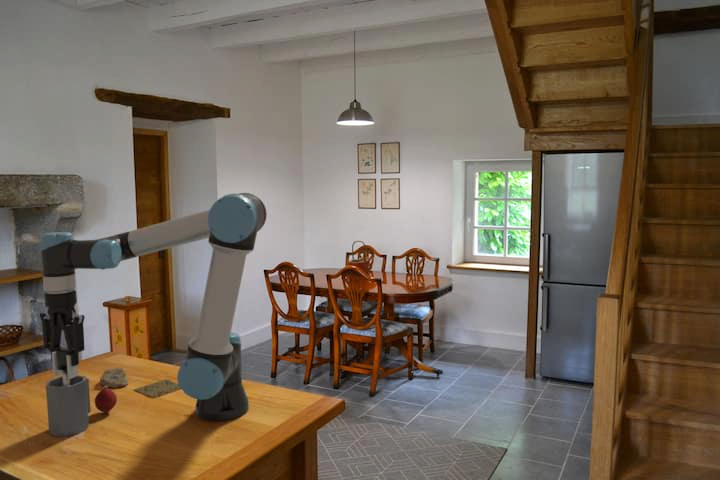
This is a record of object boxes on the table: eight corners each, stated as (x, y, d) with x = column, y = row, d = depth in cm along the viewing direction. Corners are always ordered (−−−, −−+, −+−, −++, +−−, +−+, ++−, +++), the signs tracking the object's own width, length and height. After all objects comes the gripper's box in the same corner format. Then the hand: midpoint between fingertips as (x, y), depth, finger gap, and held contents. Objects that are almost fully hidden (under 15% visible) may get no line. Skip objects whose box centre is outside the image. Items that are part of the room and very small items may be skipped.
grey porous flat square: (165, 380, 193) (165, 377, 193) (186, 388, 186) (186, 385, 185) (132, 391, 184) (132, 388, 184) (153, 400, 176) (153, 397, 176)
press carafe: (101, 421, 160) (98, 375, 158) (68, 439, 149) (64, 389, 148) (76, 416, 163) (73, 371, 162) (41, 433, 153) (38, 384, 151)
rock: (97, 383, 191) (99, 387, 182) (100, 365, 192) (103, 368, 183) (124, 385, 195) (128, 389, 186) (128, 367, 196) (131, 370, 187)
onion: (109, 417, 162) (107, 390, 162) (91, 416, 164) (89, 389, 163) (121, 409, 168) (119, 383, 167) (104, 408, 169) (102, 382, 168)
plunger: (87, 413, 157) (83, 347, 155) (67, 423, 151) (63, 354, 149) (69, 410, 159) (65, 344, 157) (49, 419, 153) (44, 351, 151)
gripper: (96, 290, 151) (101, 375, 154) (48, 285, 158) (53, 367, 160) (73, 295, 144) (79, 384, 147) (23, 291, 151) (29, 376, 153)
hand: (65, 375), depth 154 cm, fingers open, 4 cm apart
